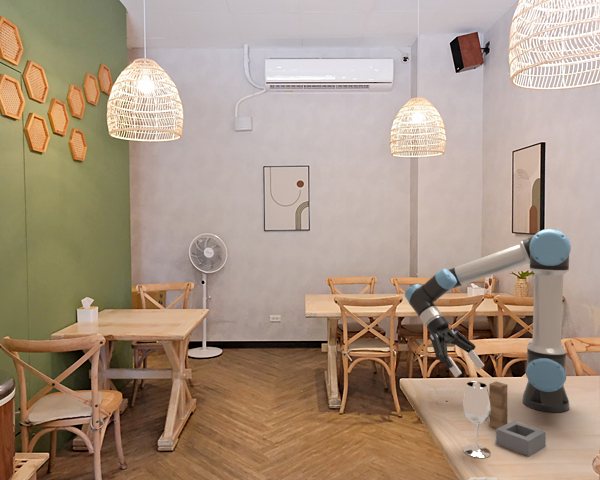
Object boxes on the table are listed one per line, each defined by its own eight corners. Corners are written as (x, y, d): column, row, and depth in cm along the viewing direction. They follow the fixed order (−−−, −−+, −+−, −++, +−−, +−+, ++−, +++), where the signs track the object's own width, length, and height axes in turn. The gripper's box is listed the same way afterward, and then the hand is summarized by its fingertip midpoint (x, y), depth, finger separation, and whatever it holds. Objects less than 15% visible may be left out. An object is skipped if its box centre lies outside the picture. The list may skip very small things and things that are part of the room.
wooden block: (496, 422, 156) (496, 381, 156) (507, 426, 153) (507, 384, 153) (489, 425, 154) (489, 383, 154) (500, 429, 151) (500, 387, 150)
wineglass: (458, 446, 140) (458, 380, 139) (483, 444, 141) (483, 379, 140) (469, 459, 132) (469, 389, 132) (496, 457, 133) (496, 388, 132)
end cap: (513, 434, 147) (513, 420, 147) (545, 446, 139) (545, 431, 139) (496, 443, 141) (496, 429, 141) (528, 456, 133) (528, 441, 133)
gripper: (449, 322, 183) (483, 370, 171) (406, 332, 168) (441, 384, 156) (460, 311, 178) (497, 359, 166) (418, 319, 163) (455, 372, 152)
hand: (470, 371), depth 161 cm, fingers open, 13 cm apart
